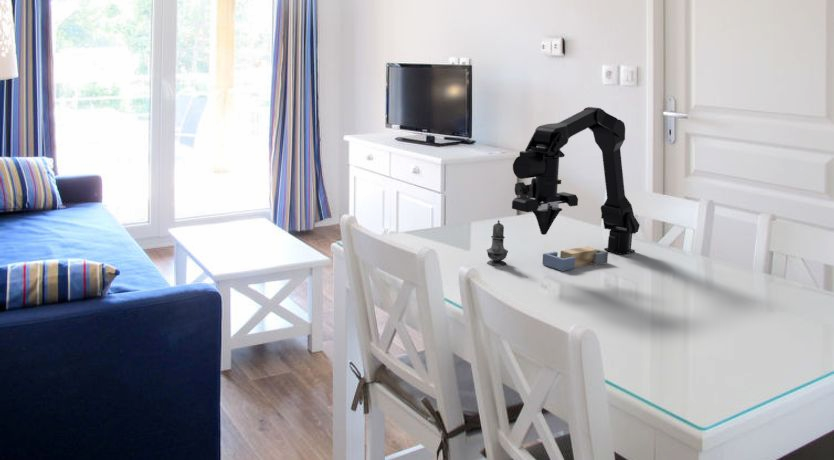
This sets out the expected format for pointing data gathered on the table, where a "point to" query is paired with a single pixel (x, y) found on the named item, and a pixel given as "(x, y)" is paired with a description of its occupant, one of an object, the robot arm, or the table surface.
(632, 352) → the table surface
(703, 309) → the table surface
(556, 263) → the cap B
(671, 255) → the table surface
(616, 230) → the robot arm
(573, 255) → the slat
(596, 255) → the grey u channel
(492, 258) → the salt shaker
